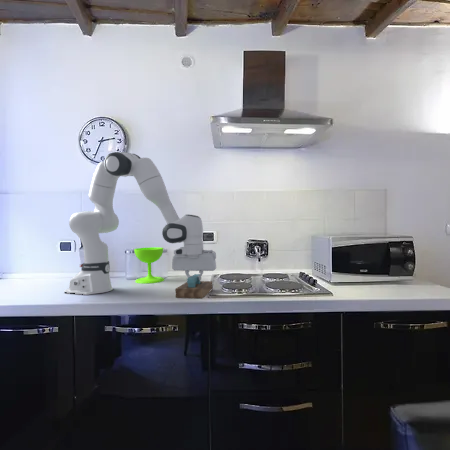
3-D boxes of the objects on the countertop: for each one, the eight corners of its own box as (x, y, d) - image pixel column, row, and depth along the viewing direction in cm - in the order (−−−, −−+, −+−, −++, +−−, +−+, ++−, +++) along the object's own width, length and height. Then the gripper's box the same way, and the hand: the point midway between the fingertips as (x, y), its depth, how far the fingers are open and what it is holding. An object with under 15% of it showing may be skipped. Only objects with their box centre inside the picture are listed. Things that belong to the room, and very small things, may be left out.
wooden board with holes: (175, 297, 155) (175, 288, 155) (188, 289, 172) (188, 281, 172) (202, 298, 152) (202, 289, 152) (212, 289, 170) (212, 281, 170)
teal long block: (187, 294, 157) (187, 278, 157) (195, 288, 168) (194, 274, 168) (193, 294, 156) (193, 278, 156) (201, 289, 168) (201, 274, 168)
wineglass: (161, 283, 190) (160, 249, 190) (131, 284, 190) (130, 250, 189) (166, 278, 206) (165, 247, 206) (138, 278, 206) (137, 247, 205)
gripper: (217, 249, 163) (218, 279, 163) (175, 249, 167) (175, 278, 167) (214, 250, 157) (214, 281, 157) (170, 250, 161) (171, 281, 161)
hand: (194, 280), depth 162 cm, fingers open, 3 cm apart
